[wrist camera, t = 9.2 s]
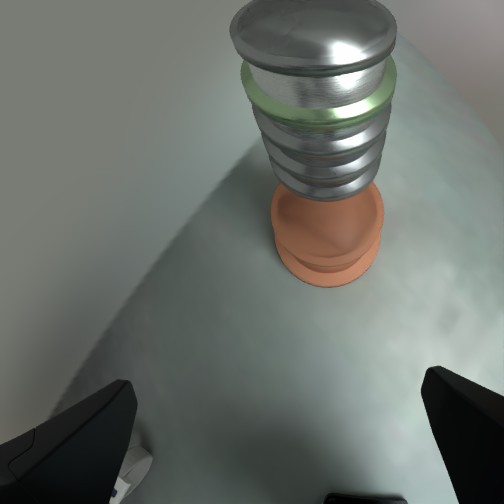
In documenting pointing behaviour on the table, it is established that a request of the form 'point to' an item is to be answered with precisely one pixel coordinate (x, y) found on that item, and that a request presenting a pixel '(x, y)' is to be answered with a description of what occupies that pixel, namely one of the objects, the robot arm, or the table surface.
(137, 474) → the wristwatch
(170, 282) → the table surface
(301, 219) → the housing
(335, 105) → the grey ribbed cylinder
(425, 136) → the table surface
